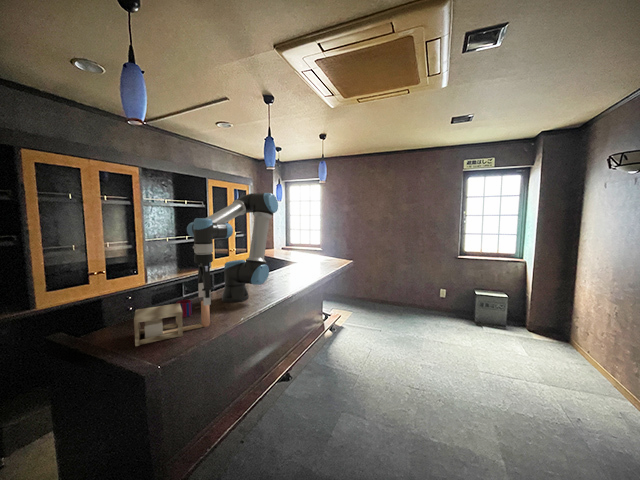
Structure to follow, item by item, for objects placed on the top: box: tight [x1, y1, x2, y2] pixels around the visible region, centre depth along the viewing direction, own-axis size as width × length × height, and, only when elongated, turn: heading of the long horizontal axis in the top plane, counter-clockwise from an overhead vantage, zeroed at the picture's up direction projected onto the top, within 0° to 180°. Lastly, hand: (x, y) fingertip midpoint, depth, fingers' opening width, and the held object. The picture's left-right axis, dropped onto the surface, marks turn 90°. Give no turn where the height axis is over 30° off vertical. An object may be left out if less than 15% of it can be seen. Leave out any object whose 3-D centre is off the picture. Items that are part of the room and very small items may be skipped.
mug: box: [175, 299, 193, 319], centre depth 125 cm, size 7×10×7 cm
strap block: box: [144, 300, 211, 339], centre depth 108 cm, size 24×6×11 cm, turn 123°
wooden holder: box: [133, 303, 184, 347], centre depth 105 cm, size 16×13×10 cm
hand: (204, 300), depth 113 cm, fingers open, 13 cm apart
